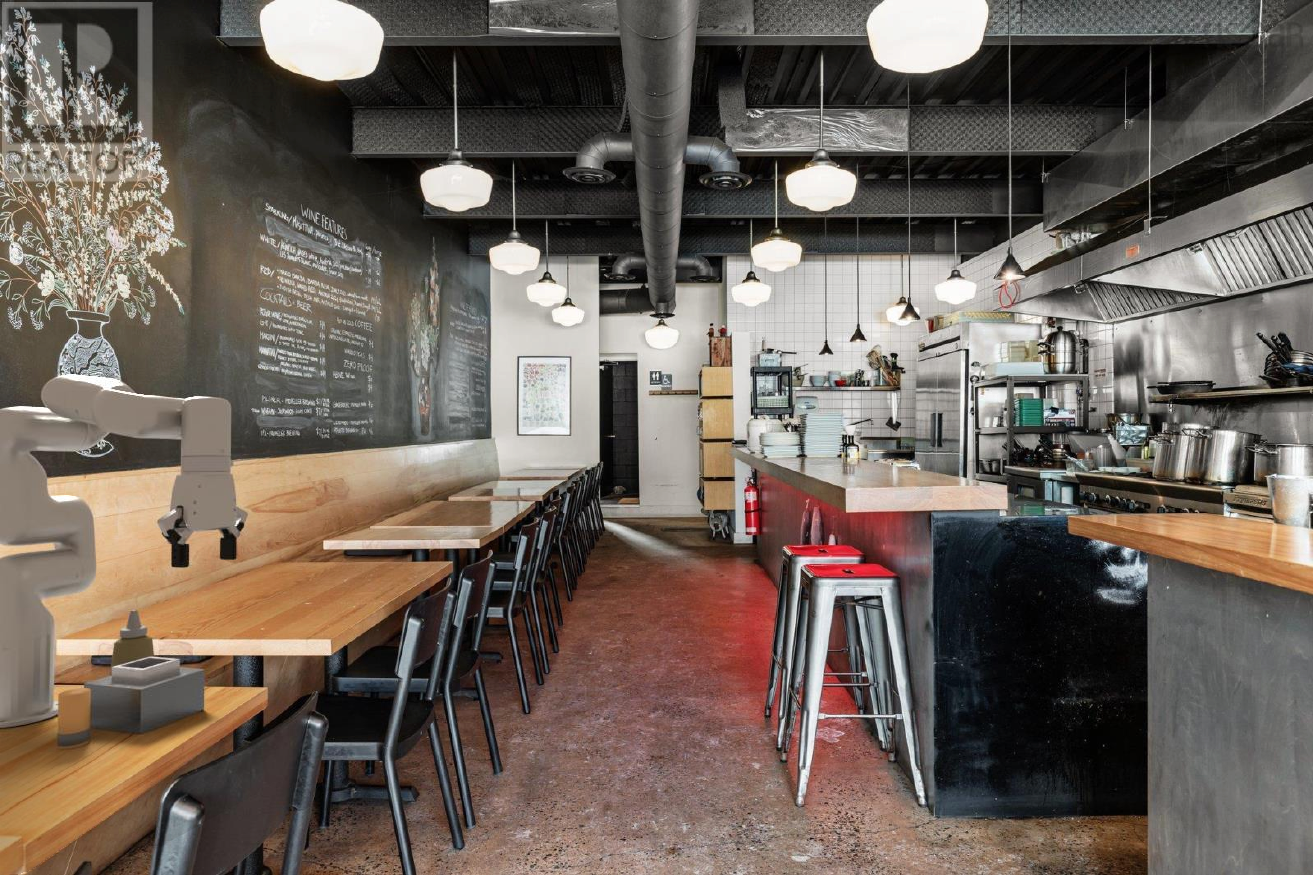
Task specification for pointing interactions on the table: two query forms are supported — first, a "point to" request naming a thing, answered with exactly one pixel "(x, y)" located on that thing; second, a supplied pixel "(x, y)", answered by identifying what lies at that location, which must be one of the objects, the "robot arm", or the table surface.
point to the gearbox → (145, 695)
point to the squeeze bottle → (132, 642)
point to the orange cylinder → (73, 718)
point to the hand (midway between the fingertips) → (205, 563)
